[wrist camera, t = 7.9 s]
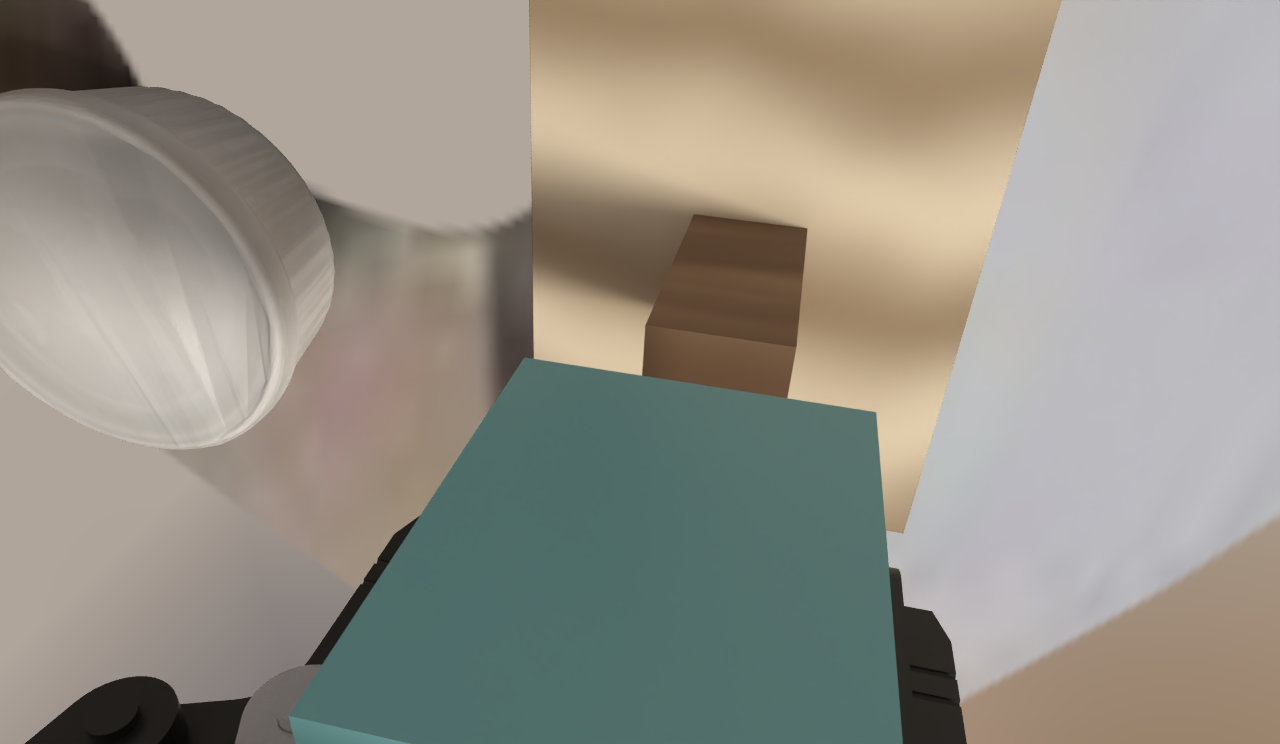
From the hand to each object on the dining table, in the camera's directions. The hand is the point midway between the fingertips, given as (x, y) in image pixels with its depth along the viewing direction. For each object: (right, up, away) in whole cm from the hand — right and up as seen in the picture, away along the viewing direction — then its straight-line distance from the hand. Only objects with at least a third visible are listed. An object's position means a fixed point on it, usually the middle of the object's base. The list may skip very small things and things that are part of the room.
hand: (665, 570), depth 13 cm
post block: (+3, +7, +11) cm, 14 cm away
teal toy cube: (0, +1, +1) cm, 1 cm away
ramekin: (-15, +8, +15) cm, 23 cm away
